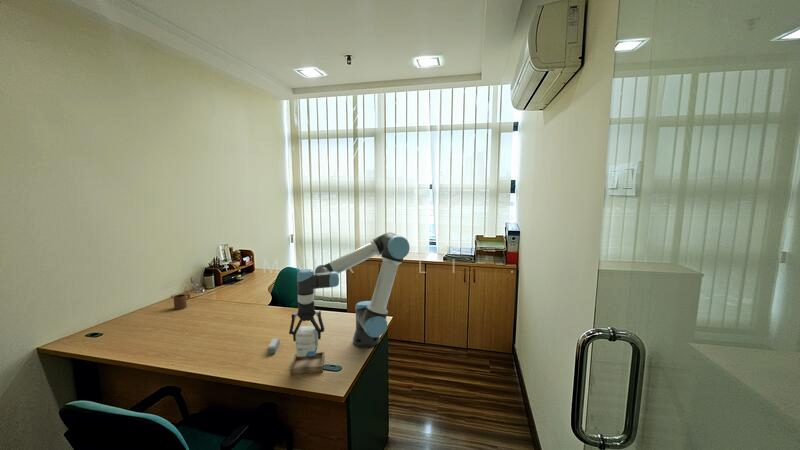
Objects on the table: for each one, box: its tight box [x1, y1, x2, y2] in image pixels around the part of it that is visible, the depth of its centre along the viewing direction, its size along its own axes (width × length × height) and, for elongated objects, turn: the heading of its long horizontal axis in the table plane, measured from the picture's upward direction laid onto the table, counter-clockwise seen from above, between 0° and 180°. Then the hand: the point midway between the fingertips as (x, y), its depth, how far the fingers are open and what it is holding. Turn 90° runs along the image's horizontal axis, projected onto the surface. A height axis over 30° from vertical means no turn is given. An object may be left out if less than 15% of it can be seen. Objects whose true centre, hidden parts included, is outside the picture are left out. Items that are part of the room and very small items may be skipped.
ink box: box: [295, 325, 319, 357], centre depth 153 cm, size 9×8×12 cm
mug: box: [173, 292, 191, 311], centre depth 233 cm, size 12×8×9 cm, turn 167°
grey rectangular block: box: [267, 337, 281, 355], centre depth 170 cm, size 10×4×4 cm, turn 7°
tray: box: [290, 351, 325, 376], centre depth 154 cm, size 15×14×3 cm
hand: (307, 346), depth 153 cm, fingers closed on ink box, 9 cm apart
